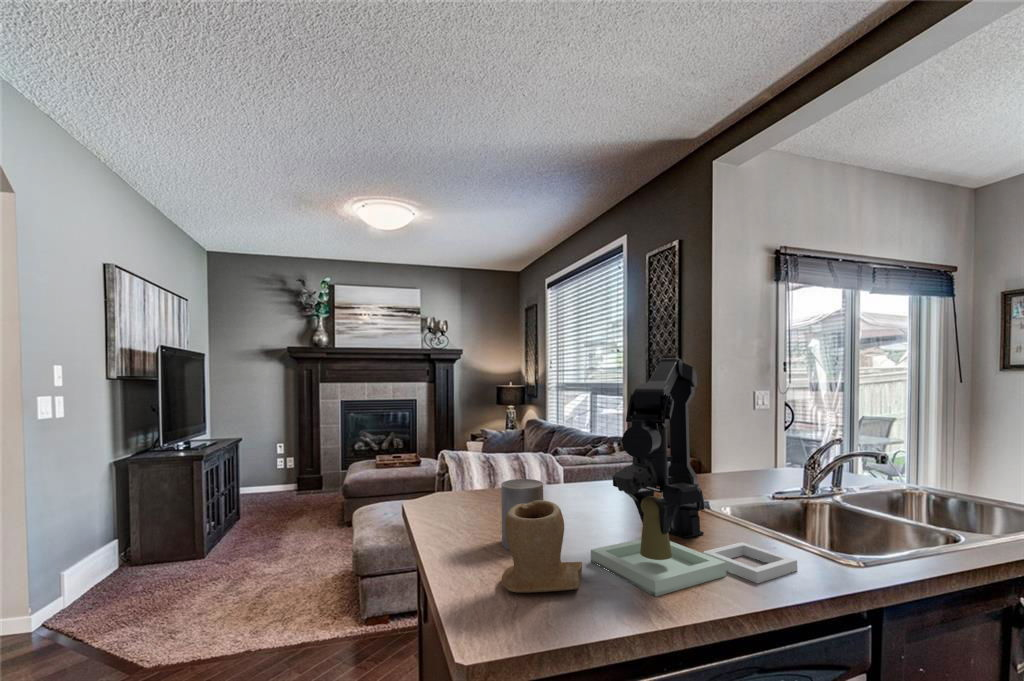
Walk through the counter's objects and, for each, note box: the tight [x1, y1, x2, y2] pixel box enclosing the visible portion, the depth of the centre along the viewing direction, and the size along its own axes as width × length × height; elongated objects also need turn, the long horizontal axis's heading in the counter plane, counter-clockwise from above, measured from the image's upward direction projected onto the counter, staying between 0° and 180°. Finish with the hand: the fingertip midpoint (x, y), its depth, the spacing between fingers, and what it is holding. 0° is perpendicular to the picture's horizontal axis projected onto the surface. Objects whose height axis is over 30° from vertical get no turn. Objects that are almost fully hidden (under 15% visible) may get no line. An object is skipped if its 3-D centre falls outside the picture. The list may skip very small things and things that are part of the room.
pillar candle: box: [500, 477, 544, 551], centre depth 110 cm, size 10×10×15 cm
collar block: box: [702, 541, 798, 584], centre depth 96 cm, size 12×12×2 cm
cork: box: [640, 495, 672, 560], centre depth 95 cm, size 6×6×11 cm
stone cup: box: [501, 499, 583, 594], centre depth 87 cm, size 15×12×15 cm
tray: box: [590, 538, 727, 597], centre depth 95 cm, size 18×18×2 cm
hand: (655, 530), depth 95 cm, fingers closed on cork, 4 cm apart
